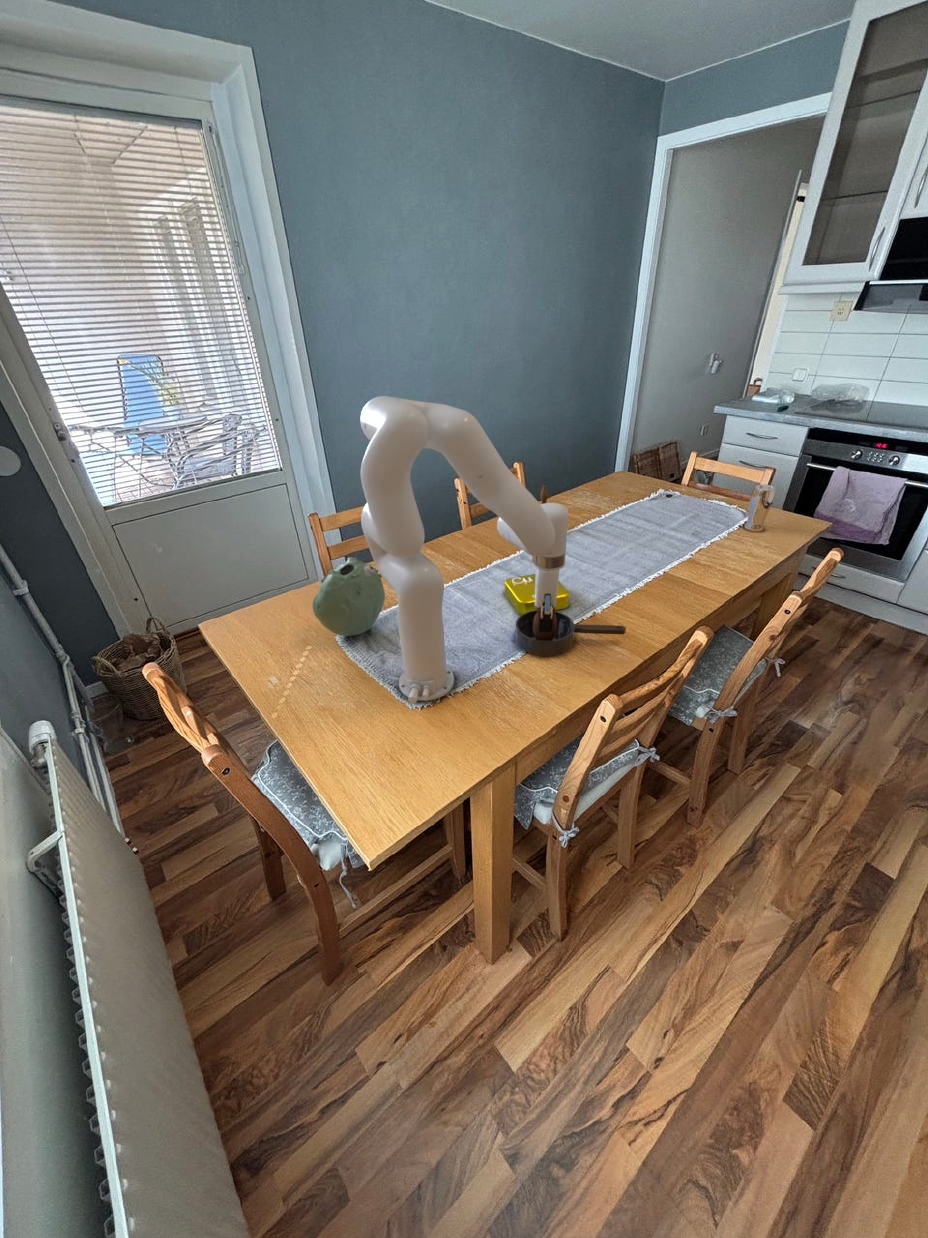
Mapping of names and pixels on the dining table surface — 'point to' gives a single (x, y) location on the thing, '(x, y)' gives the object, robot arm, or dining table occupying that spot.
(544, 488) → the hand bell
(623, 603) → the dining table surface
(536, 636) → the wooden figurine
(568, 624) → the pan
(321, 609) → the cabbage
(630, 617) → the dining table surface
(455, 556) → the dining table surface
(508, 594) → the element tile
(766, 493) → the beer glass
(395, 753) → the dining table surface
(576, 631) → the pan handle
